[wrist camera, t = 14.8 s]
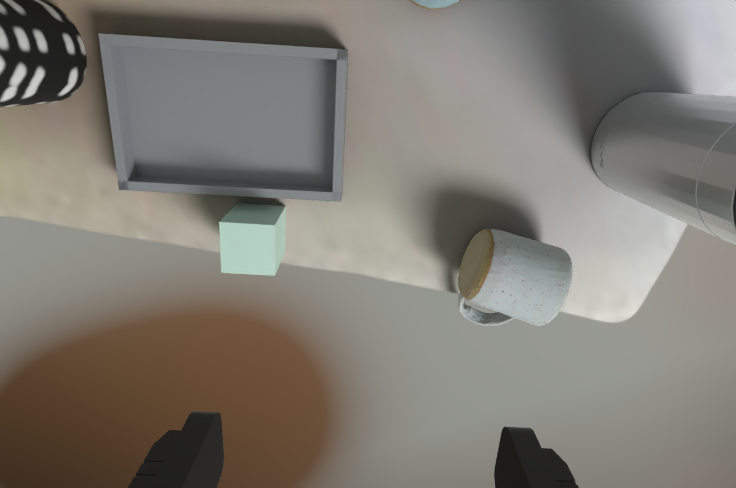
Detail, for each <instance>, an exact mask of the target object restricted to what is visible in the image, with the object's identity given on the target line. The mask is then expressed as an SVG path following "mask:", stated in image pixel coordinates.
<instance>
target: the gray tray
mask: <svg viewBox="0 0 736 488" xmlns="http://www.w3.org/2000/svg"><path fill="white" fill-rule="evenodd" d="M98 35H99V42H100V50H101V57H102V65H103V72H104V80H105V87H106V95H107V102H108V110H109V117H110V125H111V132H112V140H113V147H114V155H115V162H116V170H117V177H118V185H119V190H132V191H151V192H169V193H188V194H207V195H226V196H244V197H263V198H282V199H301V200H319V201H338V202H341V200H342V188H343V164H344V139H345V114H346V89H347V65H348V50H347V49H331V48H316V47H301V46H285V45H270V44H254V43H239V42H223V41H208V40H192V39H177V38H162V37H146V36H131V35H115V34H100V33H98Z"/></svg>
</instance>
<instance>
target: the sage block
mask: <svg viewBox="0 0 736 488" xmlns="http://www.w3.org/2000/svg"><path fill="white" fill-rule="evenodd" d="M285 228H286V206H279V205H263V204H247V203H237V204H236V205H235V206H234V207H233V208H232V209H231V210H230V211H229V212H228V213H227V214H226V215H225V216H224V217H223V218H222V219H221V220H220V222H219V231H220V252H221V272H222V273H239V274H256V275H275V274H276V272H277V269H278V267H279V265H280V262H281V260H282V257H283V255H284V253H285Z"/></svg>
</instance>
